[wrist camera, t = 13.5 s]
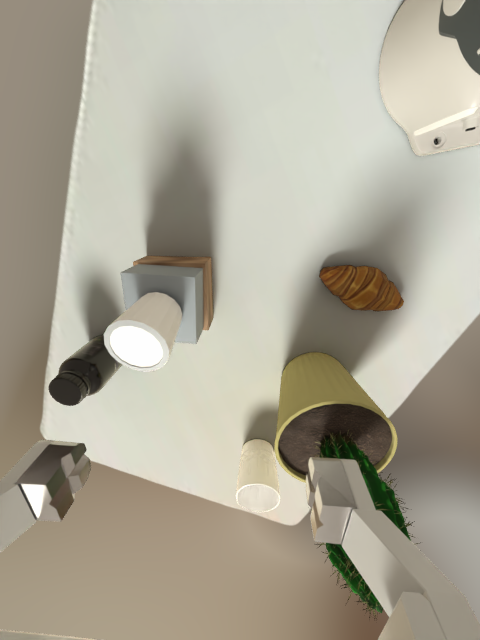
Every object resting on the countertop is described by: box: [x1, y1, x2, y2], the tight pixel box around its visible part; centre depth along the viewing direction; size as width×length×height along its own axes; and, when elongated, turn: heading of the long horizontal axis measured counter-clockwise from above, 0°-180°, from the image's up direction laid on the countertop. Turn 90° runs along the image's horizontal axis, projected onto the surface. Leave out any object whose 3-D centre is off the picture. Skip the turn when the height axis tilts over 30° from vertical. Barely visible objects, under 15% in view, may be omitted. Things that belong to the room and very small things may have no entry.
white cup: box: [236, 439, 280, 512], centre depth 51 cm, size 8×8×10 cm
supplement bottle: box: [49, 335, 122, 406], centre depth 42 cm, size 7×7×12 cm
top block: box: [121, 264, 204, 344], centre depth 35 cm, size 9×9×5 cm
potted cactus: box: [274, 352, 415, 616], centre depth 33 cm, size 15×15×30 cm
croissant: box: [319, 265, 404, 311], centre depth 38 cm, size 14×7×5 cm, turn 69°
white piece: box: [104, 292, 182, 372], centre depth 29 cm, size 7×7×7 cm
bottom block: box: [133, 256, 213, 330], centre depth 40 cm, size 10×10×5 cm
